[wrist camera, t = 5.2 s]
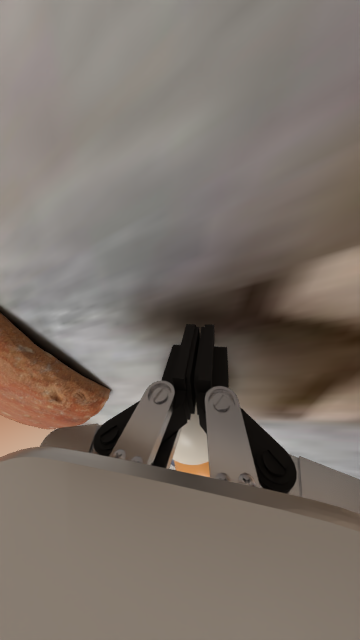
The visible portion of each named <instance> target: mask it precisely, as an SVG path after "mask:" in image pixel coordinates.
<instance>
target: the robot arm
mask: <svg viewBox="0 0 360 640" xmlns="http://www.w3.org/2000/svg"><path fill="white" fill-rule="evenodd" d="M195 407H197V415H199V424H200V426H201V428H202V429H203V430H204V431H205V433H206V434H207V446H208V460H209V473H210V477H206V476H201V475H196V474H191V473H186V472H181V471H176V470H171V469H169V468H170V465H171V462H172V458H173V455H174V452H175V449H176V446H177V443H178V440H179V436H180V433H181V429H182V427H183V426H184V425H185V424H187V420H190V417H191V414H195ZM0 640H360V480H359V479H357V478H354V477H352V476H349V475H347V474H344V473H342V472H339V471H336V470H334V469H331V468H329V467H326V466H324V465H321V464H319V463H316V462H313V461H311V460H308V459H306V458H303V457H301V456H299V458H297V457H295V456H292V455H290V454H288V453H287V452H286V450H285V449H284V448H283V447H281V446H280V445H279V444H278V443H277V442H276V441H275V440H274V439H273V438H272V437H271V436H270V435H269V434H268V433H267V432H266V431H265V430H264V429H263V428H261V427H260V426H259V425H258V424H257V423H256V422H255V421H254V420H253V419H252V418H251V417H250V416H249V415H248V414H247V413H246V412H245V411H244V410H243V409H241V408H240V405H239V401H238V398H237V396H236V394H235V393H234V392H233V391H232V390H231V389H229V388H228V360H227V347H214V325H205V327H202V328H201V334H200V333H199V327H196V325H195V324H187V325H186V328H185V332H184V335H183V339H182V343H181V345H173V347H172V350H171V353H170V356H169V359H168V362H167V365H166V368H165V371H164V374H163V377H162V380H161V381H157V382H154V383H152V384H151V385H150V386H149V387H148V388H147V389H146V391H145V393H144V395H143V396H142V398H141V400H140V401H139V402H137V403H136V404H134V405H132V406H131V407H129V408H128V409H126V410H124V411H123V412H121V413H120V414H118V415H116V416H115V417H113V418H112V419H110V420H108V421H107V422H105V423H104V424H103V425H98V424H89V425H80V426H71V427H62V428H58V429H56V430H54V431H52V432H51V433H50V434H49V435H48V436H47V437H46V438H45V439H44V440H43V442H42V443H41V446H40V447H33V448H27V449H23V450H19V451H16V452H13V453H10V454H7V455H5V456H3V457H0Z"/></svg>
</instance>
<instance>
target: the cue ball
mask: <svg viewBox="0 0 360 640" xmlns="http://www.w3.org/2000/svg"><path fill="white" fill-rule="evenodd" d="M172 459H173V460H175V461H177V462H179V463H182V464H187V465H199V464H203V463H206V462H208V461H209V460H208V446H207V434H206V433H205V431H204V430H203V429H202V428H201V426H200V424H199V415H197V407H195V414H191V417H190V420H187V424H185V425H184V426H183V427H182V429H181V433H180V436H179V440H178V443H177V446H176V449H175V452H174V455H173V458H172Z"/></svg>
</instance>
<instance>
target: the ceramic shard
mask: <svg viewBox="0 0 360 640" xmlns="http://www.w3.org/2000/svg"><path fill="white" fill-rule="evenodd" d="M109 393H110V389H108V388H106V387H104V386H102V385H100V384H98V383H96V382H94V381H92V380H90V379H87V378H85V377H84V376H82V375H80V374H79V373H77V372H75V371H74V370H72V369H71V368H69V367H68V366H66V365H65V364H63V363H62V362H60V361H59V360H58V359H56V358H55V357H54V356H52V355H51V354H49V353H47V352H45V351H43V350H42V349H41V348H39V347H38V346H36V345H35V344H34V343H33V342H32V341H31V340H30V339H29V338H28V337H27V336H26V335H24V334H23V333H22V332H21V331H20V330H19V329H17V328H16V327H15V326H14V325H13V324H12V323H11V322H10V321H9V320H8V319H7V318H6V317H5V316H3V315H2V314H1V313H0V415H2V416H4V417H6V418H9V419H11V420H14V421H16V422H19V423H22V424H25V425H29V426H34V427H38V428H42V429H56V428H62V427H71V426H77V425H80V424H83V423H85V422H86V421H87V420H89V419H90V418H91V417H92V416H94V415H96V414H98V412H99V411H100V410H101V409H102V408H103V406H104V404H105V403H106V401H107V400H108V398H109Z"/></svg>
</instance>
